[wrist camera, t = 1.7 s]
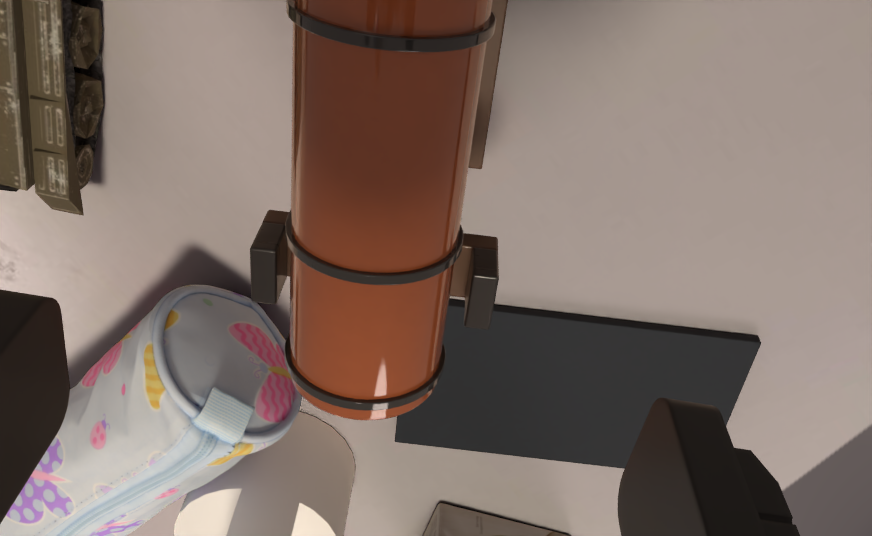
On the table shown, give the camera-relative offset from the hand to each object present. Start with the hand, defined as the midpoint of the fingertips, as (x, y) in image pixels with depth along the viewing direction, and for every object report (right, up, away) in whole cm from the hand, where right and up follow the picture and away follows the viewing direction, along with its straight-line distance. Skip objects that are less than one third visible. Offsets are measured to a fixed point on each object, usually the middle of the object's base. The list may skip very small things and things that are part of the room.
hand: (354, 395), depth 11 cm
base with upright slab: (-8, -10, +37) cm, 39 cm away
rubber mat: (+8, -5, +33) cm, 34 cm away
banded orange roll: (0, +6, +11) cm, 13 cm away
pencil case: (-15, -5, +34) cm, 38 cm away
